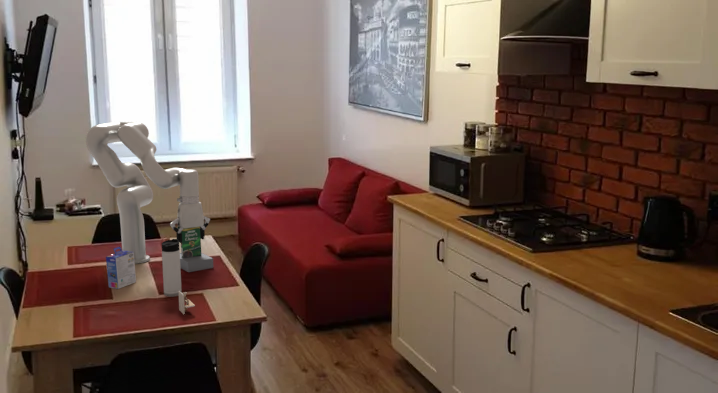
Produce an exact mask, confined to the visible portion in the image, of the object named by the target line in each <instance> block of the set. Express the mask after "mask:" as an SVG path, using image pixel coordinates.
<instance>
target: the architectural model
mask: <svg viewBox="0 0 718 393" xmlns="http://www.w3.org/2000/svg"><path fill="white" fill-rule="evenodd" d="M178 293H179V295H178V309H179V310H178V311H180V312H181V313H182V315H184V314H185V315H186V313H185V312H187V310H188V309H189V308H193V307H195V306H196V305H195V304H194V303H193V302H192V301H191V300H190V299H188V298H187V293H188V292H186V291H185V292H182V293H181V292H180V291H178ZM185 303H186V304H185Z"/></svg>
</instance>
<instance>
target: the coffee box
mask: <svg viewBox="0 0 718 393" xmlns="http://www.w3.org/2000/svg"><path fill="white" fill-rule="evenodd" d="M181 233H182V243H180V250H181V251H180V253H181V256H182V257H183V258H187V257H194V256H201V253H202V242H201V241H202V239H201V238H200V227H194V228H187V229H184V228H183V230H182V231H181Z"/></svg>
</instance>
